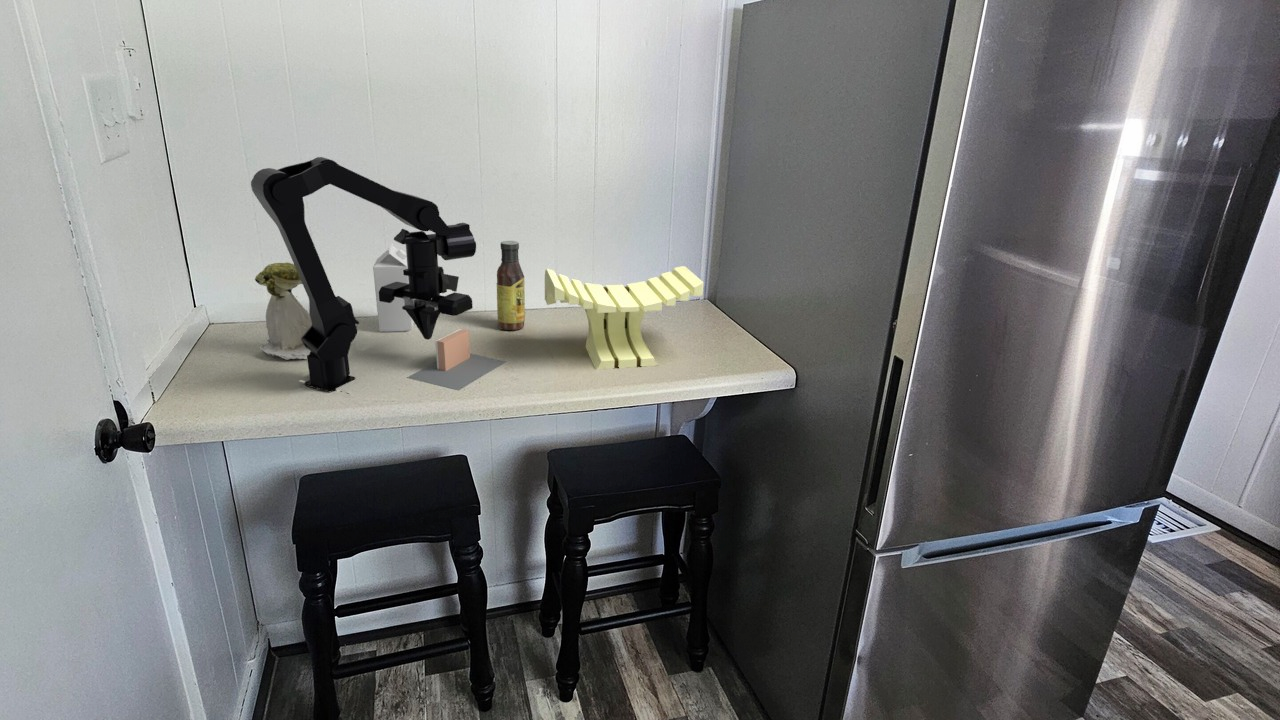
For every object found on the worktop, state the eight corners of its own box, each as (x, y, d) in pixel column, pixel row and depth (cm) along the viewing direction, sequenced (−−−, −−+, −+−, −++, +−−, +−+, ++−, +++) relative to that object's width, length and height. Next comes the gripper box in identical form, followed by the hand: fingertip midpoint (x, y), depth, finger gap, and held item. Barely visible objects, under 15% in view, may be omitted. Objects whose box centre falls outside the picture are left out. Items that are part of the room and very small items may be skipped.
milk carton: (379, 332, 158) (370, 248, 151) (383, 322, 165) (375, 241, 157) (412, 331, 160) (406, 248, 152) (415, 321, 166) (408, 241, 159)
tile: (445, 371, 139) (443, 342, 137) (437, 369, 140) (435, 340, 138) (470, 357, 146) (468, 330, 144) (462, 355, 147) (460, 328, 145)
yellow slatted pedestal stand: (675, 337, 164) (680, 262, 157) (697, 364, 150) (703, 282, 143) (544, 343, 157) (544, 264, 150) (554, 372, 143) (554, 286, 136)
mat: (458, 392, 132) (458, 390, 132) (406, 379, 136) (406, 377, 136) (506, 363, 146) (506, 361, 145) (458, 352, 150) (457, 350, 150)
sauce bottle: (522, 332, 163) (521, 246, 155) (495, 331, 163) (492, 245, 155) (527, 322, 169) (526, 240, 161) (500, 321, 169) (498, 238, 161)
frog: (282, 367, 139) (268, 275, 132) (249, 350, 146) (234, 262, 139) (339, 350, 148) (328, 264, 141) (305, 335, 155) (293, 252, 148)
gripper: (487, 261, 142) (489, 334, 147) (411, 248, 148) (416, 319, 154) (452, 274, 132) (457, 352, 138) (373, 260, 138) (380, 335, 144)
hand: (428, 338), depth 144 cm, fingers closed
